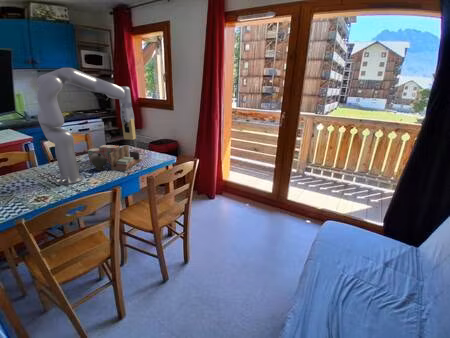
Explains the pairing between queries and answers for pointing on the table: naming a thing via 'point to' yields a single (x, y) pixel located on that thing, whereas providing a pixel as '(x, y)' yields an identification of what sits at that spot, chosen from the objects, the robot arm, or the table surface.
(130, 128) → the book
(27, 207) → the table surface
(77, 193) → the table surface
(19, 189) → the table surface
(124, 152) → the shelf
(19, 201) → the table surface
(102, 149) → the stack of blocks
